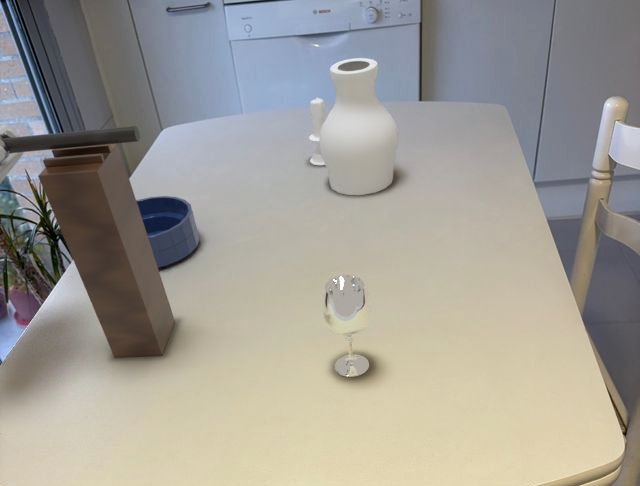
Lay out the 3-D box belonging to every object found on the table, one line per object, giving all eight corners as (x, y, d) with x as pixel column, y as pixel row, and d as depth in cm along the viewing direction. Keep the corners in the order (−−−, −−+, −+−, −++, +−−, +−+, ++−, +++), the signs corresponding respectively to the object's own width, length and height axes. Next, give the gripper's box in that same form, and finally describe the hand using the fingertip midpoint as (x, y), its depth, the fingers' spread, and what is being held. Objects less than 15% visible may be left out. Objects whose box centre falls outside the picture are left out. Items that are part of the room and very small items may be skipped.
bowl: (101, 275, 108) (88, 242, 103) (127, 230, 118) (116, 199, 114) (189, 270, 106) (180, 236, 101) (207, 225, 116) (199, 193, 112)
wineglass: (382, 359, 84) (378, 278, 75) (359, 385, 81) (352, 304, 72) (344, 347, 86) (336, 268, 78) (321, 372, 83) (310, 292, 75)
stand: (114, 357, 91) (34, 168, 72) (130, 324, 96) (60, 140, 78) (162, 355, 90) (94, 163, 71) (175, 321, 95) (115, 135, 77)
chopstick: (-29, 158, 74) (-35, 144, 73) (-22, 154, 76) (-28, 139, 75) (137, 143, 72) (132, 128, 71) (141, 138, 73) (137, 123, 72)
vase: (313, 176, 126) (299, 64, 112) (379, 158, 129) (374, 46, 115) (340, 205, 116) (329, 85, 102) (412, 184, 119) (411, 65, 105)
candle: (314, 154, 134) (307, 92, 125) (339, 154, 132) (333, 92, 124) (306, 165, 130) (299, 102, 122) (332, 166, 129) (326, 102, 120)
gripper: (-130, 225, 71) (-62, 154, 64) (-42, 152, 85) (21, 87, 79) (-78, 268, 74) (-8, 204, 68) (-1, 190, 89) (62, 131, 82)
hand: (8, 140), depth 74 cm, fingers closed on chopstick, 2 cm apart
